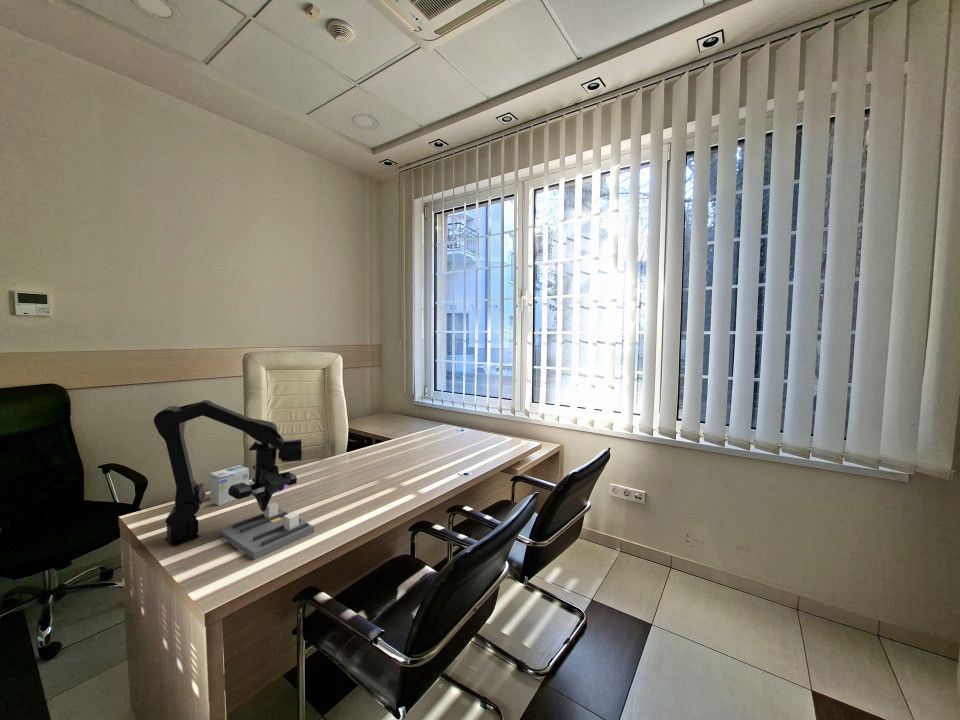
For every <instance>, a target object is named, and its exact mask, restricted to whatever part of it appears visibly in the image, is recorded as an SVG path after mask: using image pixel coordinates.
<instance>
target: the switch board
mask: <svg viewBox="0 0 960 720" xmlns="http://www.w3.org/2000/svg"><path fill="white" fill-rule="evenodd" d="M287 514H290V513H288V512H287V511H284V510H282V509H280V507H278V514H277V515H275V516H272V517H270V518H266V517H264V512H263V513H260V514H257V515H254V516H251V517H248V518H247V519H243V520H240V521H239V522H236V523H233V524H232V525H230V526H227V527H224V528H222V529H219V537H220V536H221V537H222V538H223V539H222V538H221V537H220V538H221V539H222V540H224V539H225V540H227V541H228V542H229V544H230V543H231V544H232V545H231V544H230V545H231V546H233V545H234V546H235V548H236V547H237V548H238V549H237V548H236V549H237V550H239V549H240V550H241V551H240V550H239V551H240V552H242V551H243V552H244V553H243V552H242V553H243V554H245V553H246V554H247V555H246V554H245V555H246V556H248V557H249V558H251V559H252V560H253V561H255V560H257V559H259V558H262V557H264V556H266V555H268V554H271V553H272V552H275V551H276V550H279V549H281V548H283V547H285V546H288V545H289V544H292V543H294V542H296V541H299V540H301V539H303V538H306V537H308V536H309V535H312V534H313V533H315V526H314V525H313V524H310V523H309V522H306V521H304V520H302V519H301V518H299V526H297V527H295V528H293V529H290V530H286V529H284V516H285V515H287ZM225 540H224V541H225ZM227 541H226V542H227ZM228 542H227V543H228ZM234 546H233V547H234Z"/></svg>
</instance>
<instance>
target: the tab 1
mask: <svg viewBox="0 0 960 720" xmlns="http://www.w3.org/2000/svg"><path fill="white" fill-rule="evenodd" d="M278 508H279V503H278V502H275V501H271V502H270V501H269V503H268V505H267V507H266V510H265V511H263V513H264V517H266V518H270V517H272V516H275V515H277V514H278Z"/></svg>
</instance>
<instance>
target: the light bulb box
mask: <svg viewBox="0 0 960 720" xmlns="http://www.w3.org/2000/svg"><path fill="white" fill-rule="evenodd" d="M239 483H245V484H247V485H250V468H249V467H245V466H243V465H240V464H238V465H236V466H232V467H228V468H225V469H220V470H217V471H212V472H210V473H209V488H210V489H209V490H210V491H209V493H210V495H209V497H210V502H211V503H212V504H214V505H216V506H218V507H221V506H223V505H225V504H229V503H231V502H234V501H238V500H239V499H235V498H234V497H232V496H230V495H228V492H229V488H230V487H231V485H235V484H239Z"/></svg>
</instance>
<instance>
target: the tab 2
mask: <svg viewBox="0 0 960 720" xmlns="http://www.w3.org/2000/svg"><path fill="white" fill-rule="evenodd" d="M299 519H300V515H299V514H298V513H296V512H295V511H294V512H291V513H289V514H287V515H285V516H284V529H286V530H290V529H293V528H295V527H297V526H299Z"/></svg>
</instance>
